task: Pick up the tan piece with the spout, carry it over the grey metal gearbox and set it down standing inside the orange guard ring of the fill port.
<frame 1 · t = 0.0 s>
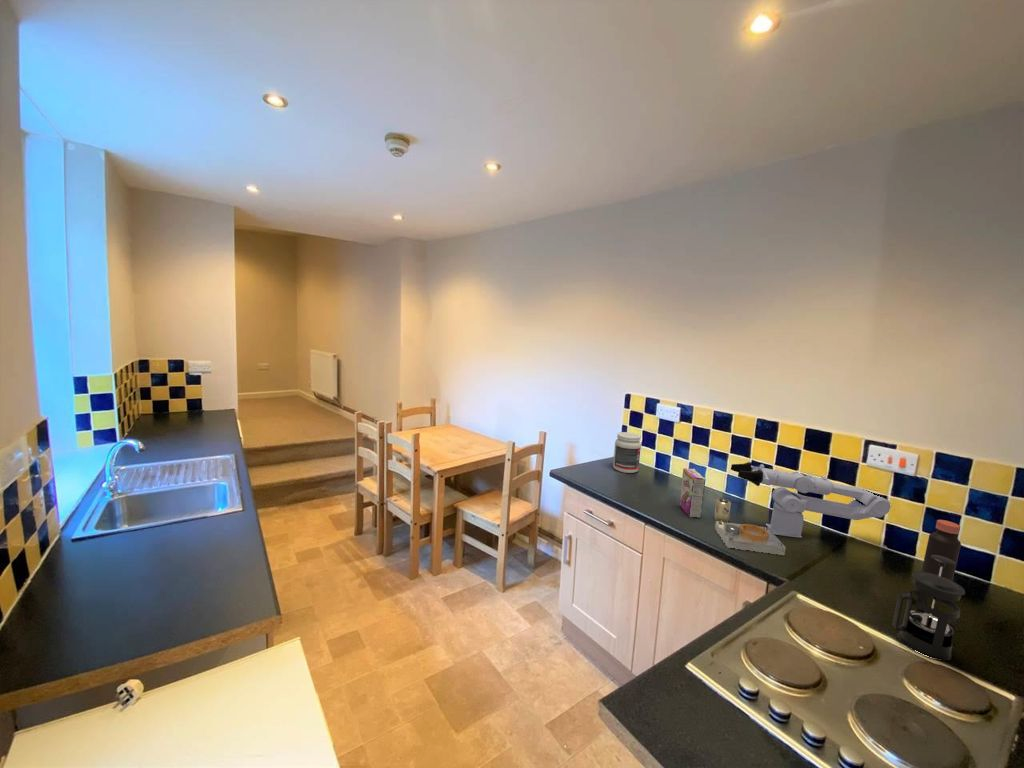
hand: (734, 470, 159), 22 cm above the worktop, tool horizontal, fingers open, 7 cm apart
tan piece: (721, 519, 167), on the worktop
bottle: (934, 585, 130), on the worktop
candy bar box: (689, 512, 172), on the worktop
supplement tub: (625, 469, 218), on the worktop
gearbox: (747, 541, 150), on the worktop
french press: (920, 645, 104), on the worktop
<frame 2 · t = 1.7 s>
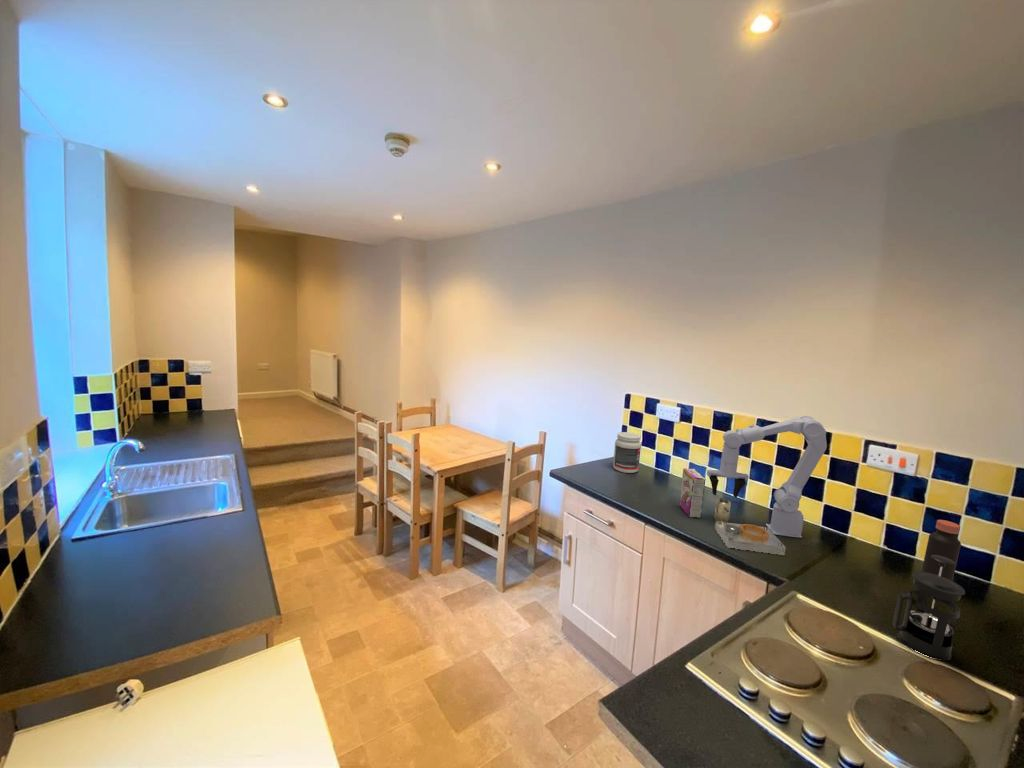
hand: (724, 495, 165), 10 cm above the worktop, tool pointing down, fingers open, 7 cm apart
nothing on the worktop moved.
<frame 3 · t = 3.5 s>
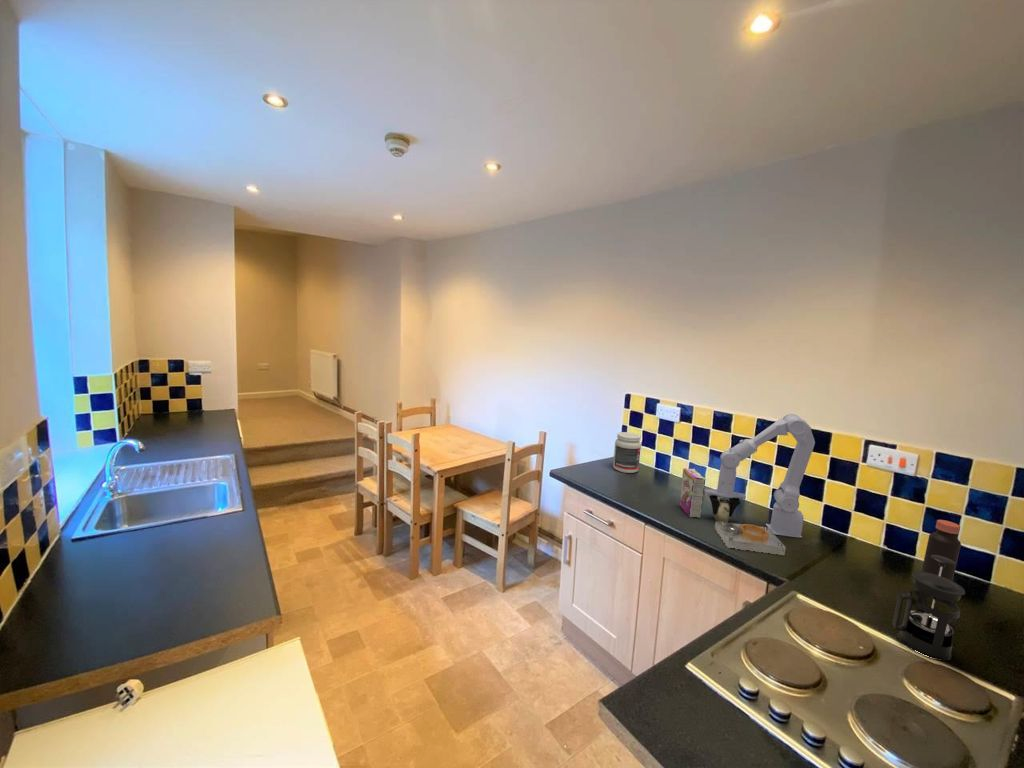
hand: (721, 514, 166), 2 cm above the worktop, tool pointing down, fingers closed on tan piece, 5 cm apart
tan piece: (721, 519, 167), on the worktop, touching gripper
everything else where it was.
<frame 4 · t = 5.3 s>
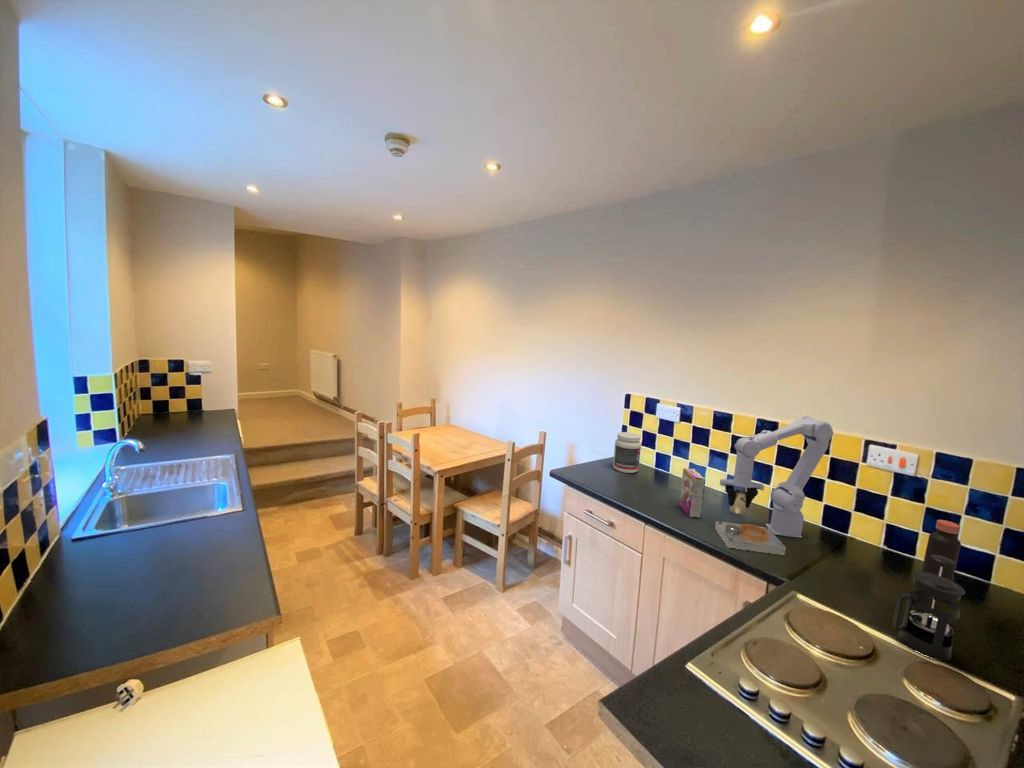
hand: (738, 505, 157), 9 cm above the worktop, tool pointing down, fingers closed on tan piece, 5 cm apart
tan piece: (737, 511, 158), point 7 cm above the worktop, touching gripper
everything else where it was.
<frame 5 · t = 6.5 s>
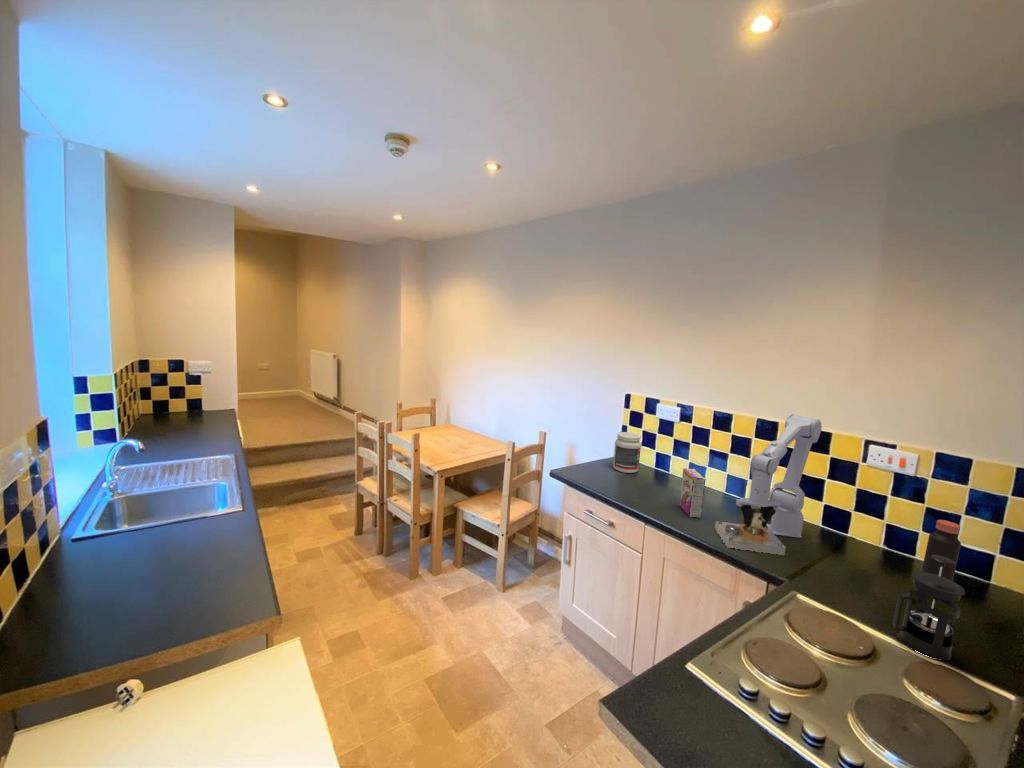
hand: (754, 525, 149), 6 cm above the worktop, tool pointing down, fingers closed on tan piece, 5 cm apart
tan piece: (753, 531, 150), point 4 cm above the worktop, touching gripper
everything else where it was.
when the fingers open (6 cm above the worktop, at t = 7.4 s): tan piece stays where it is, resting on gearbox.
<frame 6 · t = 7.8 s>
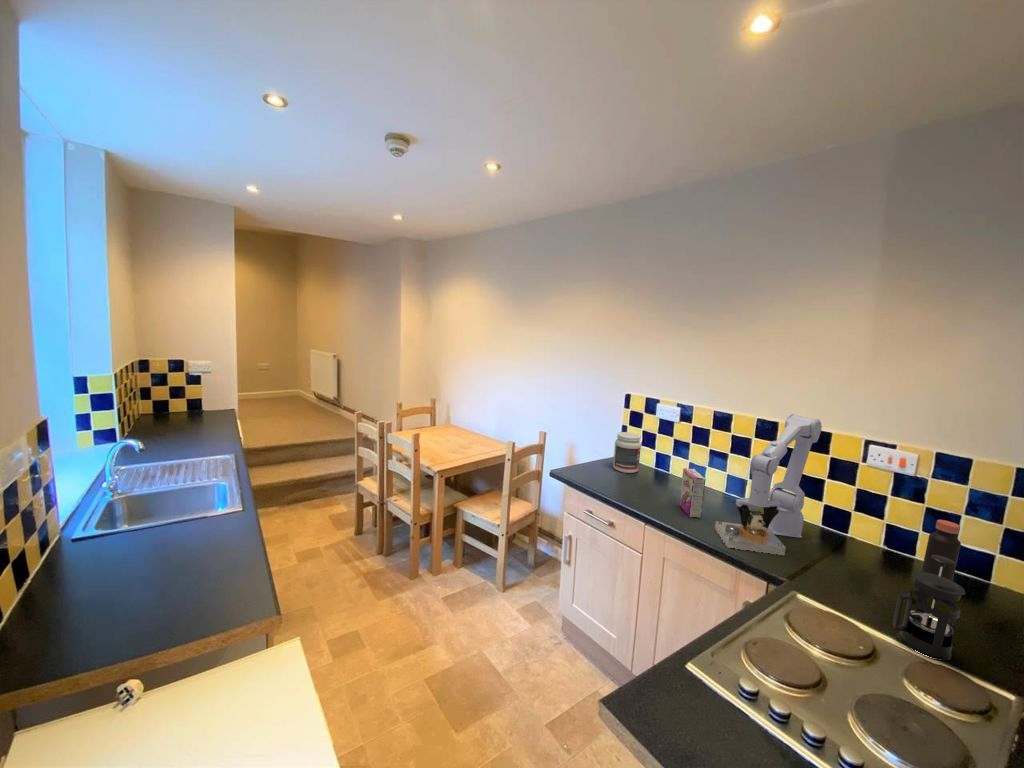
hand: (754, 526, 149), 6 cm above the worktop, tool pointing down, fingers open, 7 cm apart
tan piece: (753, 533, 150), point 3 cm above the worktop, touching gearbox
everything else where it was.
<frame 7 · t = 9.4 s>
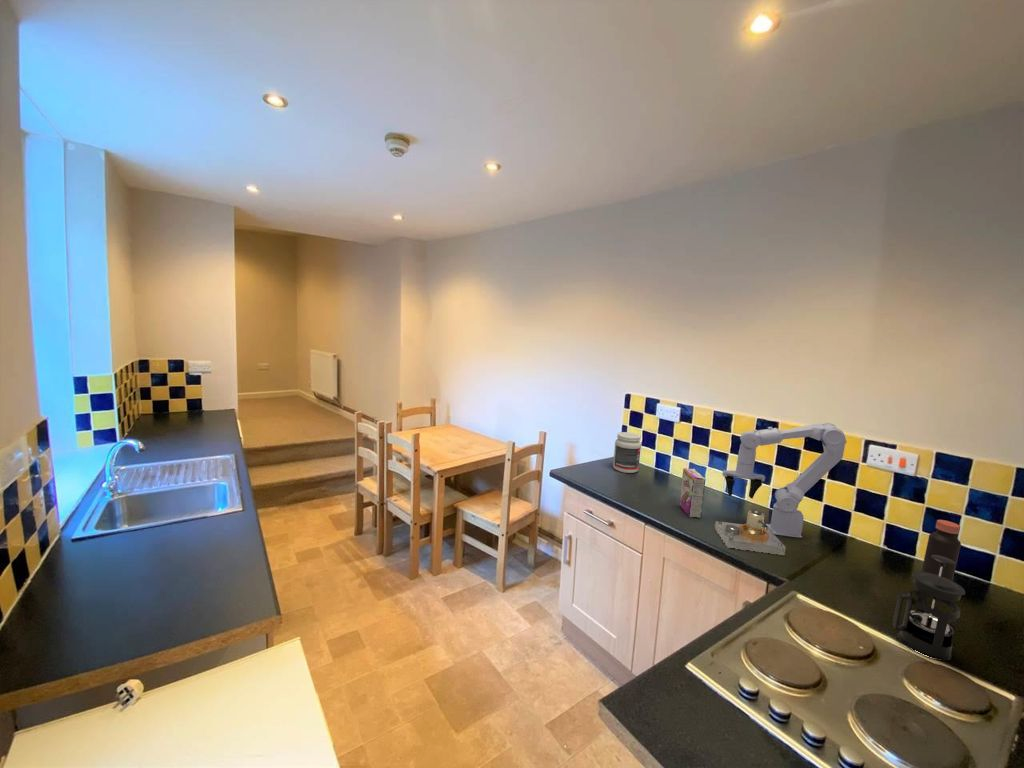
hand: (740, 496, 164), 10 cm above the worktop, tool pointing down, fingers open, 7 cm apart
nothing on the worktop moved.
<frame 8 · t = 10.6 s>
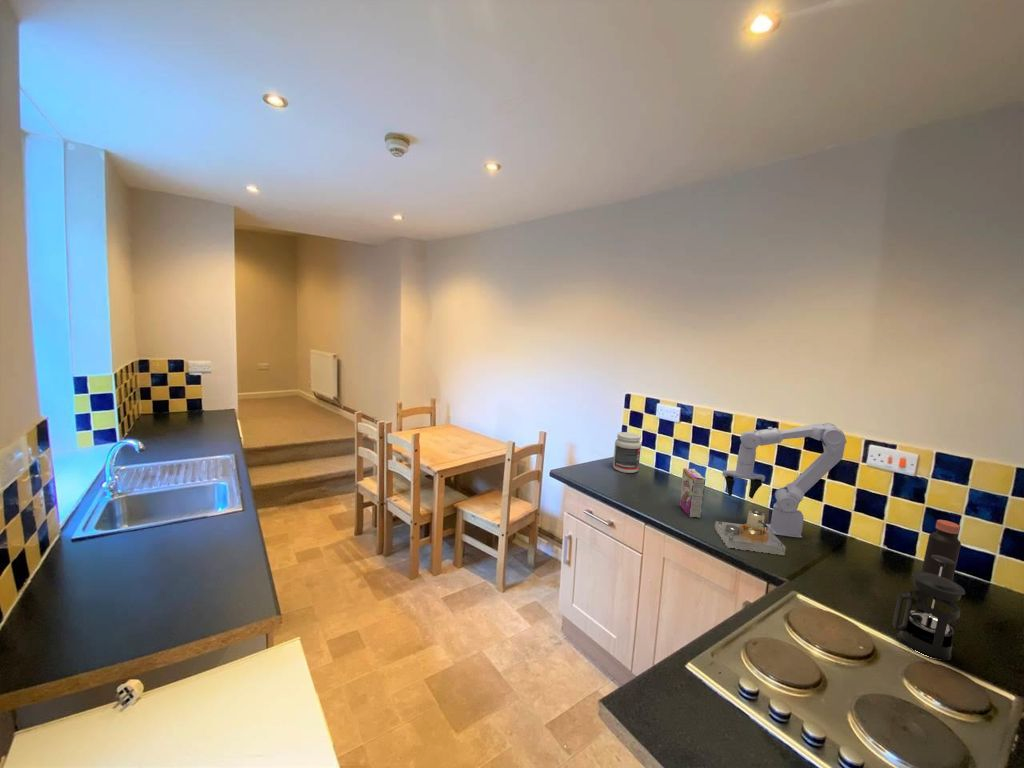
hand: (740, 496, 164), 10 cm above the worktop, tool pointing down, fingers open, 7 cm apart
nothing on the worktop moved.
at the end: tan piece 0.2 cm from the target spot on the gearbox, point 3.1 cm above the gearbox's base; tan piece tilted 2°; the gripper is holding nothing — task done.
